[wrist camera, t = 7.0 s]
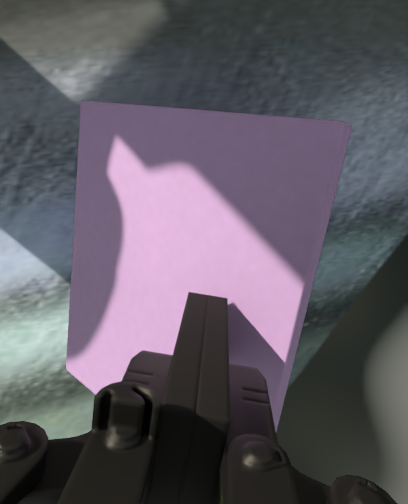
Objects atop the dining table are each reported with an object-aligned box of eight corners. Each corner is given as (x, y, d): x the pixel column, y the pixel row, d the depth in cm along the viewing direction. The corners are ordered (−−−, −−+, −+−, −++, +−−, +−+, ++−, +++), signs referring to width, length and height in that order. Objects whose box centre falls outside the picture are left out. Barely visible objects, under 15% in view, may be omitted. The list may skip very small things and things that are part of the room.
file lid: (353, 124, 11) (345, 120, 11) (256, 513, 15) (246, 526, 15) (93, 102, 19) (80, 99, 18) (77, 365, 23) (65, 369, 23)
